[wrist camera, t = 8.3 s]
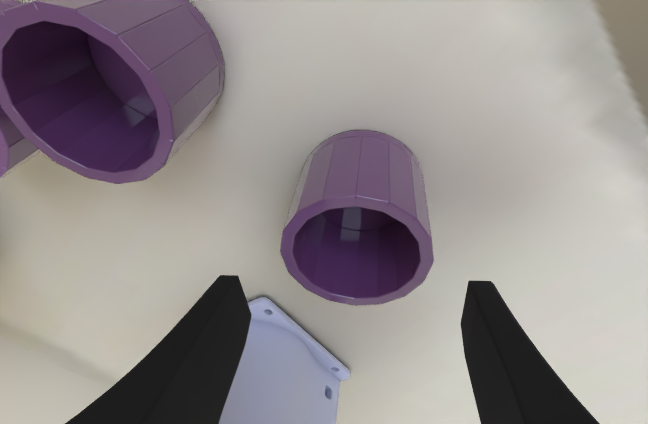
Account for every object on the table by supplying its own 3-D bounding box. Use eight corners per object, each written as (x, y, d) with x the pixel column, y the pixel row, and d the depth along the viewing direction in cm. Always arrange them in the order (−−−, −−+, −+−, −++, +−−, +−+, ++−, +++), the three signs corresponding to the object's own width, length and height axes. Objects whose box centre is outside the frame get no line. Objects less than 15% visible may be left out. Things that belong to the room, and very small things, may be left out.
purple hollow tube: (443, 200, 17) (459, 278, 13) (345, 243, 19) (336, 319, 16) (382, 105, 14) (381, 168, 11) (278, 167, 17) (250, 236, 13)
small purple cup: (253, 77, 14) (209, 132, 11) (167, 144, 17) (109, 207, 13) (142, -61, 12) (39, -49, 8) (61, 39, 14) (-46, 81, 11)
